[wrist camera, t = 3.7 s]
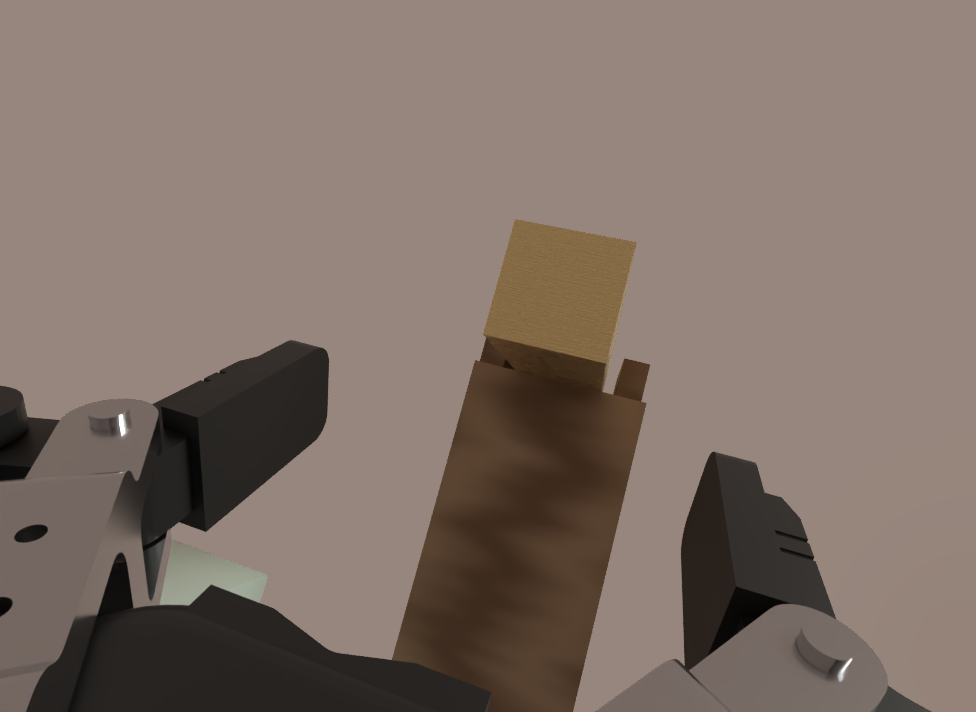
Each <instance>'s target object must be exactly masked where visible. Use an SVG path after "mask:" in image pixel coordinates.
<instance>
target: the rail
mask: <svg viewBox="0 0 976 712" xmlns="http://www.w3.org/2000/svg"><path fill="white" fill-rule="evenodd" d="M635 246H636V242H632V241H626V240H621V239H616V238H610V237H605V236H599V235H594V234H589V233H584V232H579V231H573V230H568V229H563V228H558V227H552V226H547V225H541V224H537V223H531V222H526V221H521V220H515V222H514V225H513V229H512V233H511V236H510V240H509V243H508V247H507V250H506V254H505V258H504V262H503V265H502V268H501V272H500V276H499V280H498V283H497V286H496V290H495V294H494V297H493V301H492V304H491V308H490V312H489V315H488V319H487V322H486V326H485V330H484V333H483V335H484V336H485V337H486V338H487V339H488V340H489V341H490V342H491V343H492V345H493V346H494V347H495V348H496V349H497V350H498V351H499V352H500V353H501V354H502V356H503V357H504V358H505V359H506V360H507V361H508V362H509V363H510V364H511V366H512V367H513V368H514V369H515V370H516V371H520V372H524V373H528V374H532V375H536V376H540V377H544V378H548V379H552V380H556V381H560V382H564V383H568V384H572V385H576V386H580V387H584V388H588V389H592V390H596V391H600V392H603V389H604V385H605V381H606V377H607V372H608V368H609V364H610V361H611V356H612V352H613V348H614V344H615V340H616V335H617V330H618V325H619V321H620V316H621V311H622V307H623V302H624V297H625V293H626V288H627V284H628V279H629V274H630V269H631V265H632V260H633V256H634V251H635Z"/></svg>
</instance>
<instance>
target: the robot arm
mask: <svg viewBox="0 0 976 712" xmlns="http://www.w3.org/2000/svg"><path fill="white" fill-rule="evenodd" d="M328 372H329V358H328V354H327V352H326V350H325V349H323V348H320V347H316V346H312V345H309V344H305V343H300V342H297V341H293V340H291V341H287V342H285V343H283V344H282V345H279V346H278V347H275V348H274V349H272V350H270V351H268V352H266V353H264V354H262V355H260V356H258V357H254V358H250V359H246V360H241V361H239V362H236V363H234V364H232V365H230V366H228V367H226V368H224V369H222V370H220V373H214V374H212V375H210V376H208V377H206V378H205V379H204V381H201V380H200V381H198V382H196V383H194V384H192V385H190V386H188V387H186V388H184V389H182V390H180V391H178V392H176V393H174V394H172V395H170V396H168V397H166V398H164V399H162V400H160V401H158V402H156V403H154V404H150V403H147V402H144V401H141V400H134V399H111V400H104V401H99V402H94V403H90V404H87V405H84V406H81V407H79V408H76V409H74V410H72V411H70V412H69V413H67V414H66V415H65V416H64V417H62V419H61V420H52V419H41V418H30V417H27V414H26V409H25V404H24V399H23V395H22V394H21V392H20V391H18V390H16V389H13V388H10V387H5V386H0V712H488V707H489V702H490V697H491V692H490V691H487V690H484V689H482V688H479V687H477V686H474V685H471V684H469V683H466V682H464V681H461V680H458V679H456V678H453V677H451V676H448V675H445V674H443V673H440V672H438V671H435V670H432V669H430V668H427V667H425V666H422V665H419V664H417V663H410V662H403V661H395V660H386V659H379V658H371V657H364V656H356V655H348V654H340V653H335V652H332V651H330V650H328V649H326V648H325V647H323V646H322V645H321V644H320V643H318V642H317V641H316V640H314V639H313V638H312V637H310V636H309V635H308V634H307V633H305V632H304V631H303V630H301V629H300V628H299V627H297V626H296V625H295V624H293V623H292V622H291V621H290V620H288V619H287V618H285V617H284V616H283V615H282V614H280V613H279V612H278V611H276V610H275V609H273V608H271V607H269V606H266V605H263V604H260V603H258V602H256V601H253V600H250V599H248V598H245V597H243V596H240V595H237V594H235V593H232V592H230V591H227V590H224V589H222V588H219V587H217V586H214V585H210V586H209V587H208V588H207V589H206V590H205V591H204V592H203V593H201V594H200V595H199V596H198V597H197V598H196V599H195V600H194V601H193V602H192V603H191V604H190V605H160V601H161V595H162V590H163V585H164V580H165V575H166V570H167V564H168V559H169V554H170V549H171V542H172V539H171V530H170V528H172V527H173V526H174V525H176V524H177V523H178V522H180V523H183V524H186V525H189V526H191V527H194V528H197V529H200V530H202V531H205V532H206V531H207V530H209V529H210V528H211V527H212V526H213V525H215V524H216V523H217V522H218V521H219V520H221V519H222V518H223V517H224V516H225V515H227V514H228V513H229V512H230V511H231V510H233V509H234V508H235V507H236V506H237V505H239V504H240V503H241V502H242V501H243V500H245V499H246V498H247V497H248V496H249V495H251V494H252V493H253V492H254V491H255V490H257V488H259V487H260V486H261V485H263V484H264V483H265V482H266V481H267V480H268V479H270V478H271V477H272V476H273V475H275V474H276V473H277V472H278V471H279V470H281V469H282V468H283V467H284V466H285V465H287V464H288V463H289V462H290V461H291V460H292V459H294V458H295V457H296V456H297V455H299V454H300V453H301V452H302V451H303V450H304V449H306V448H307V447H308V446H309V445H311V444H312V443H313V442H314V441H315V440H316V439H317V438H318V437H319V435H320V434H321V432H322V430H323V428H324V425H325V422H326V418H327V406H328V374H329V373H328ZM807 540H808V539H807V536H806V533H805V531H804V528H803V525H802V522H801V519H800V518H799V517H798V515H797V514H796V513H795V512H794V511H793V510H792V509H791V508H790V506H789V505H788V504H787V503H786V502H785V501H784V500H783V499H782V498H781V497H778V496H774V495H770V494H767V493H764V489H763V486H762V482H761V479H760V475H759V471H758V468H757V465H756V463H754V462H751V461H747V460H743V459H739V458H736V457H732V456H728V455H724V454H720V453H717V452H712V453H711V454H710V456H709V458H708V460H707V463H706V465H705V468H704V471H703V474H702V477H701V480H700V483H699V486H698V488H697V491H696V494H695V497H694V500H693V503H692V506H691V509H690V512H689V515H688V517H687V521H686V524H685V528H684V533H683V538H682V546H681V566H682V593H683V594H682V596H683V627H684V654H685V656H684V657H685V666H684V665H683V664H682V663H681V662H680V661H678V660H677V659H672V660H669V661H667V662H665V663H663V664H662V665H660V666H659V667H657V668H655V669H654V670H653V671H651V672H650V673H648V674H647V675H646V676H644V677H643V678H641V679H640V680H639V681H637V682H636V683H635V684H633V685H632V686H630V687H629V688H628V689H626V690H625V691H623V692H622V693H621V694H619V695H618V696H616V697H615V698H614V699H612V700H611V701H609V702H608V703H607V704H605V705H604V706H602V707H601V708H600V709H598V710H597V711H596V712H931V711H929V710H927V709H925V708H924V707H922V706H920V705H918V704H916V703H914V702H913V701H911V700H909V699H908V698H906V697H904V696H903V695H901V694H899V693H898V692H896V691H895V690H894V689H892V688H891V687H889V686H888V680H887V674H886V672H885V669H884V667H883V665H882V663H881V661H880V660H879V658H878V657H877V655H876V654H875V652H874V651H873V650H872V649H871V648H870V647H869V645H868V644H867V643H866V642H865V641H864V640H863V639H862V638H860V637H859V636H858V635H857V634H856V633H855V632H854V631H852V630H851V629H849V628H848V627H847V626H846V625H844V624H842V623H841V622H839V621H838V620H836V617H835V614H834V612H833V609H832V606H831V603H830V600H829V598H828V595H827V592H826V589H825V586H824V584H823V581H822V578H821V576H820V572H819V570H818V567H817V564H816V562H815V561H813V559H814V556H813V553H812V550H811V547H810V545H809V544H808V543H807Z"/></svg>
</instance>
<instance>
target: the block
mask: <svg viewBox="0 0 976 712" xmlns="http://www.w3.org/2000/svg"><path fill="white" fill-rule="evenodd" d="M267 578H268V575H267V574H264V573H261V572H259V571H256V570H254V569H250V568H248V567H245V566H243V565H240V564H237V563H235V562H232V561H229V560H227V559H224V558H221V557H218V556H215V555H213V554H210V553H208V552H204V551H202V550H199V549H197V548H194V547H191V546H189V545H186V544H183V543H181V542H178V541H175V540H172V542H171V549H170V554H169V559H168V564H167V570H166V575H165V580H164V585H163V590H162V595H161V601H160V605H190V604H191V603H192V602H193V601H194V600H195V599H196V598H197V597H198V596H199V595H200V594H201V593H203V592H204V591H205V590H206V589H207V588H208V587H209V586H210V585H214V586H217V587H219V588H222V589H224V590H227V591H230V592H232V593H235V594H237V595H240V596H243V597H245V598H248V599H250V600H253V601H256V602H258V603H260V600H261V597H262V594H263V590H264V587H265V584H266V581H267Z"/></svg>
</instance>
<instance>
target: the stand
mask: <svg viewBox="0 0 976 712" xmlns="http://www.w3.org/2000/svg"><path fill="white" fill-rule="evenodd" d="M649 367H650V365H649V364H645V363H641V362H637V361H633V360H628V359H624V361H623V364H622V367H621V370H620V372H619V375H618V378H617V381H616V385H615V389H614V393H613V395H611V394H608V393H604V392H600V391H596V390H592V389H588V388H584V387H580V386H576V385H572V384H568V383H564V382H560V381H556V380H552V379H548V378H544V377H540V376H536V375H532V374H528V373H524V372H520V371H516V370H515V369H514V368H513V367H512V366H511V364H510V363H509V362H508V361H507V360H506V359H505V358H504V357H503V356H502V354H501V353H500V352H499V351H498V350H497V349H496V348H495V347H494V346H493V345H492V343H491V342H490V341H489V340H488V339H487V338H486V341H485V345H484V348H483V352H482V356H481V359H480V361H475V363H474V367H473V370H472V374H471V377H470V381H469V385H468V388H467V392H466V395H465V399H464V402H463V406H462V410H461V413H460V417H459V420H458V424H457V428H456V432H455V435H454V438H453V442H452V447H451V450H450V453H449V456H448V460H447V464H446V467H445V471H444V474H443V478H442V482H441V485H440V489H439V492H438V496H437V500H436V503H435V507H434V510H433V514H432V517H431V521H430V525H429V528H428V532H427V536H426V539H425V543H424V546H423V550H422V553H421V557H420V561H419V564H418V568H417V572H416V575H415V579H414V582H413V586H412V589H411V593H410V597H409V600H408V604H407V607H406V611H405V615H404V618H403V622H402V625H401V629H400V632H399V636H398V640H397V643H396V647H395V651H394V655H393V658H392V660H395V661H403V662H410V663H417V664H419V665H422V666H425V667H427V668H430V669H432V670H435V671H438V672H440V673H443V674H445V675H448V676H451V677H453V678H456V679H458V680H461V681H464V682H466V683H469V684H471V685H474V686H477V687H479V688H482V689H484V690H487V691H490V692H491V697H490V702H489V707H488V712H573V709H574V705H575V701H576V696H577V692H578V688H579V684H580V679H581V676H582V671H583V667H584V663H585V658H586V654H587V650H588V646H589V642H590V638H591V634H592V629H593V625H594V621H595V617H596V613H597V608H598V604H599V599H600V596H601V591H602V587H603V583H604V579H605V575H606V570H607V566H608V562H609V558H610V553H611V550H612V545H613V541H614V537H615V533H616V528H617V524H618V520H619V516H620V512H621V507H622V503H623V499H624V495H625V491H626V487H627V482H628V478H629V474H630V470H631V466H632V461H633V457H634V453H635V449H636V444H637V440H638V436H639V432H640V428H641V424H642V419H643V415H644V411H645V407H646V403H644V402H641V400H642V396H643V392H644V388H645V383H646V379H647V375H648V371H649Z"/></svg>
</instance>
